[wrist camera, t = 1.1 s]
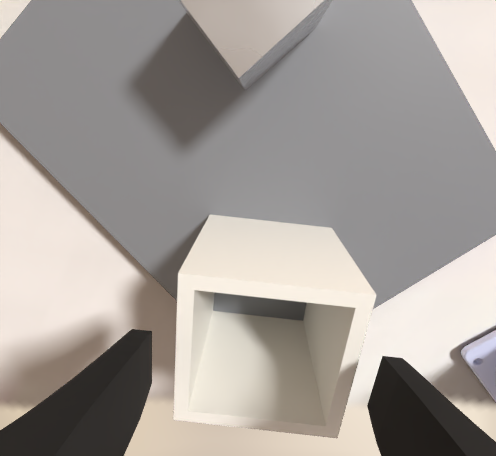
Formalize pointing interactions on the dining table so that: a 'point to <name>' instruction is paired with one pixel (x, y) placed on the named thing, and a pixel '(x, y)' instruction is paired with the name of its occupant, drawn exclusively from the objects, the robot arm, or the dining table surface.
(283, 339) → the collar
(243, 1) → the duct stub
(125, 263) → the dining table surface
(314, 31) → the duct panel
